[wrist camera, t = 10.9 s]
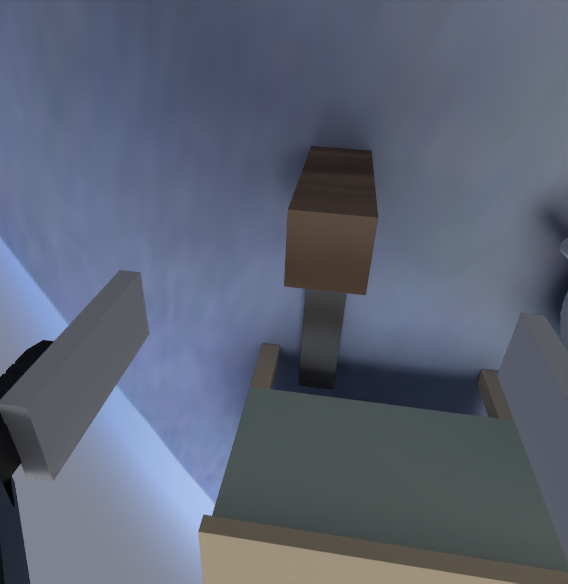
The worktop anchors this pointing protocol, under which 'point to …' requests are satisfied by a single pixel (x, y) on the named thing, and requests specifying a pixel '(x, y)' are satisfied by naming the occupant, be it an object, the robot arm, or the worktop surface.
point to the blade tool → (329, 250)
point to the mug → (564, 304)
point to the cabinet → (377, 495)
